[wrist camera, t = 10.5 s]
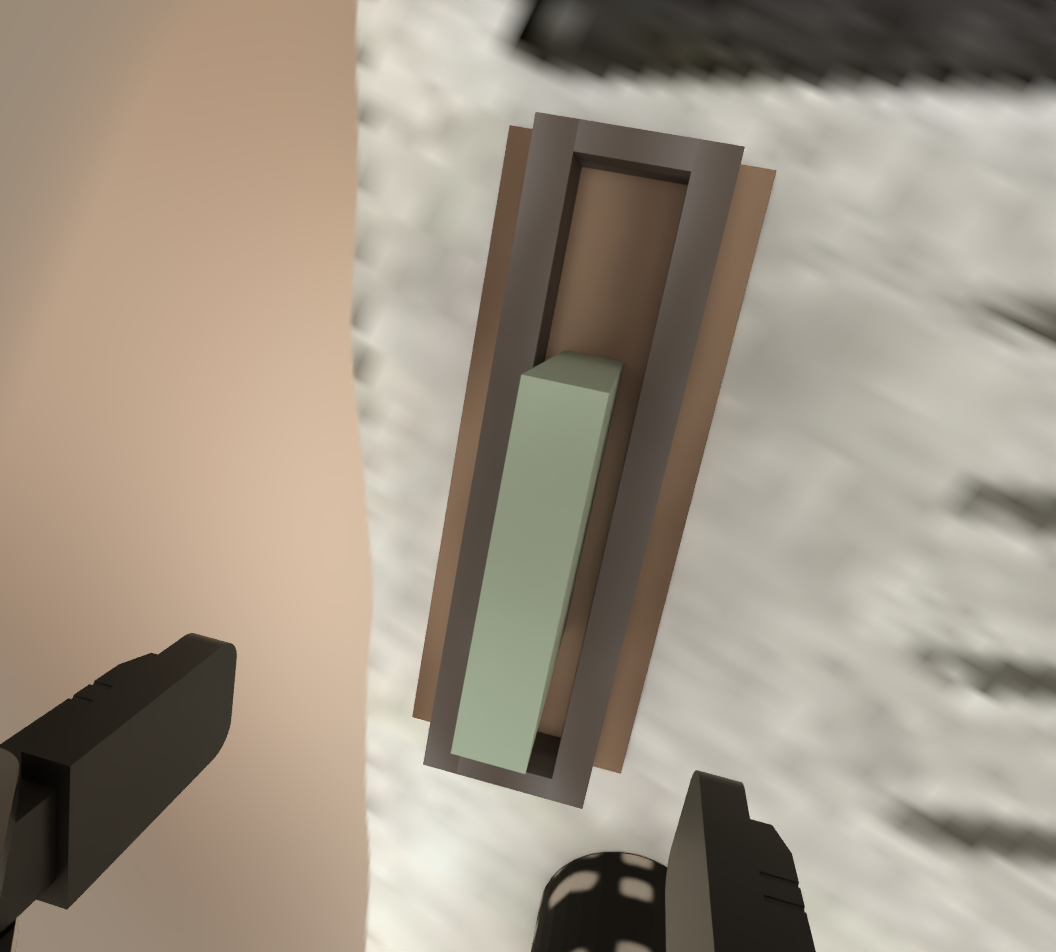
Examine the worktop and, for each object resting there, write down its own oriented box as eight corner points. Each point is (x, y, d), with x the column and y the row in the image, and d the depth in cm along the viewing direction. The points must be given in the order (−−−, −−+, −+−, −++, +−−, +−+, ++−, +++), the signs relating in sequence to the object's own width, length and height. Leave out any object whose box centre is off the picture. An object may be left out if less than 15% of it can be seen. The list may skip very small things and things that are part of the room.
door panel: (624, 362, 29) (608, 393, 19) (564, 631, 32) (525, 774, 22) (565, 350, 29) (521, 374, 19) (511, 618, 32) (450, 753, 23)
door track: (772, 174, 27) (791, 154, 23) (621, 760, 34) (617, 818, 30) (514, 131, 28) (492, 104, 25) (418, 705, 35) (390, 755, 31)
